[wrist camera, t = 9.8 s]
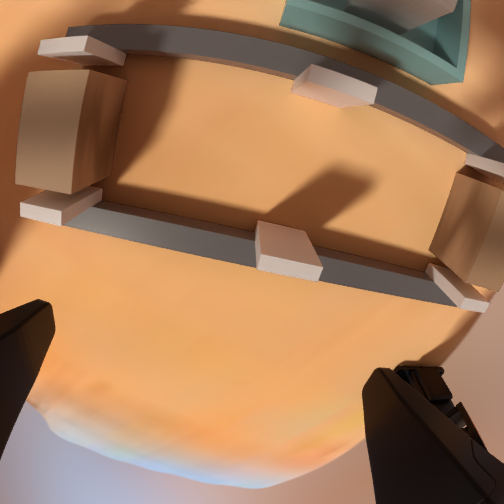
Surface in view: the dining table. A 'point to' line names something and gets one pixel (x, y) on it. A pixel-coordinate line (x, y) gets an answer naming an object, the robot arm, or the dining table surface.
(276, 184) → the dining table surface
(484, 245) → the walnut block
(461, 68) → the teal tray
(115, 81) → the walnut block
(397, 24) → the tea bag
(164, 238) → the clip holder
